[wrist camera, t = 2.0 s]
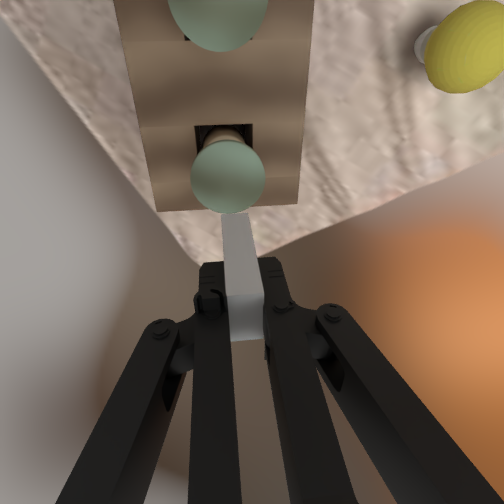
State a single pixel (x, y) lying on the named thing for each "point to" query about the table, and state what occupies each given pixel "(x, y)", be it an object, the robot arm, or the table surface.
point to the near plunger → (219, 21)
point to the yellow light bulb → (464, 47)
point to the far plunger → (227, 172)
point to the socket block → (218, 95)
